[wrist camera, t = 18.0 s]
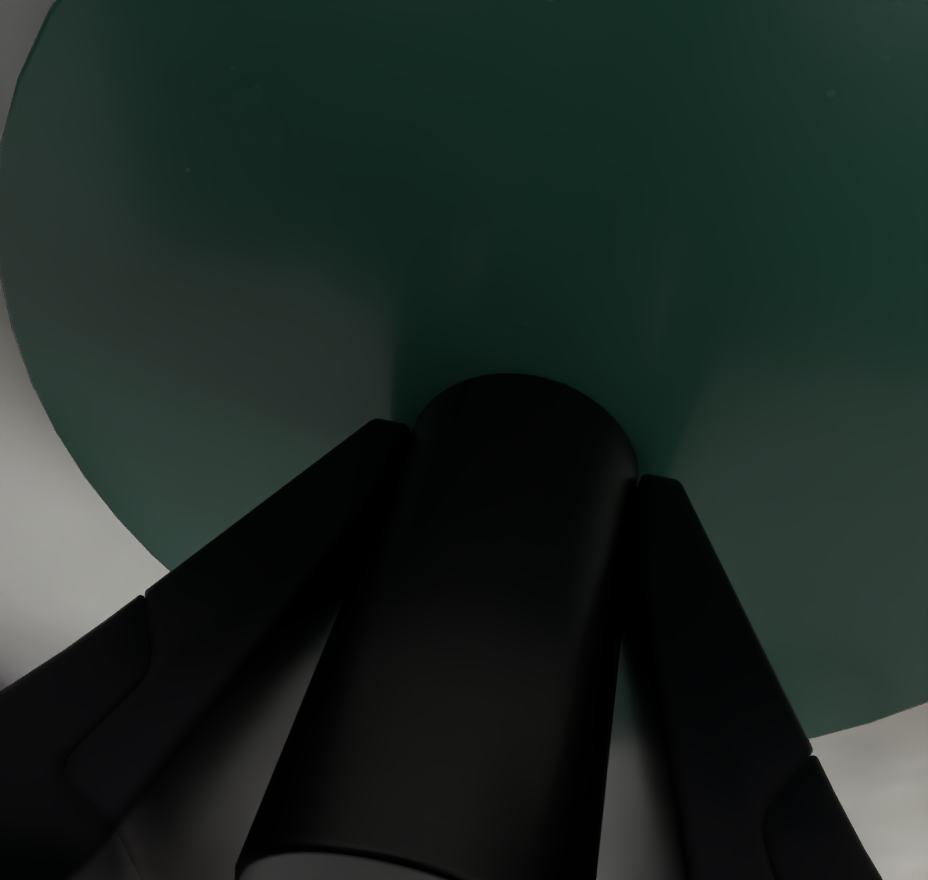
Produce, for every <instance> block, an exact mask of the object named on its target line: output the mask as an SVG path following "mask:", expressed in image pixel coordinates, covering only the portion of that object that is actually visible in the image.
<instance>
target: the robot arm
mask: <svg viewBox="0 0 928 880" xmlns="http://www.w3.org/2000/svg"><path fill="white" fill-rule="evenodd" d="M409 438H410V429H409V427H408V426H407V425H406V424H404V423H400V422H395V421H390V420H385V419H380V418H375V419H373V420H371V421H369V422H368V423H366V424H365V425H364V426H362V427H361V428H360V429H358V430H357V431H356V432H354V433H353V434H352V435H350V436H349V437H348V438H346V439H345V440H344V441H343V442H341V443H340V444H339V445H337V446H336V447H335V448H333V449H332V450H331V451H329V452H328V453H327V454H325V455H324V456H323V457H321V458H320V459H319V460H317V461H316V462H315V463H313V464H312V465H311V466H309V467H308V468H307V469H306V470H304V471H303V472H302V473H300V474H299V475H298V476H296V477H295V478H294V479H292V480H291V481H290V482H288V483H287V484H286V485H284V486H283V487H282V488H280V489H279V490H278V491H276V492H275V493H274V494H272V495H271V496H270V497H269V498H267V499H266V500H265V501H263V502H262V503H261V504H259V505H258V506H257V507H255V508H254V509H253V510H251V511H250V512H249V513H247V514H246V515H245V516H243V517H242V518H241V519H239V520H238V521H237V522H235V523H234V524H233V525H232V526H230V527H229V528H228V529H226V530H225V531H224V532H222V533H221V534H220V535H218V536H217V537H216V538H214V539H213V540H212V541H210V542H209V543H208V544H206V545H205V546H204V547H202V548H201V549H200V550H198V551H197V552H196V553H195V554H193V555H192V556H191V557H189V558H188V559H187V560H185V561H184V562H183V563H181V564H180V565H179V566H177V567H176V568H175V569H173V570H172V571H171V572H169V573H168V574H167V575H165V576H164V577H163V578H161V579H160V580H159V581H158V582H156V583H155V584H154V585H152V586H151V587H150V588H148V589H147V590H146V591H145V597H144V596H142V595H139V596H137V597H136V598H135V599H133V600H132V601H131V602H129V603H128V604H127V605H125V606H124V607H123V608H121V609H120V610H119V611H117V612H116V613H115V614H113V615H112V616H111V617H109V618H108V619H107V620H105V621H104V622H102V623H101V624H100V625H98V626H97V627H95V628H94V629H93V630H91V631H90V632H89V633H87V634H86V635H84V636H83V637H82V638H80V639H79V640H77V641H76V642H75V643H73V644H72V645H70V646H69V647H68V648H66V649H65V650H63V651H62V652H60V653H59V654H57V655H56V656H54V657H52V658H51V659H49V660H48V661H46V662H45V663H43V664H42V665H40V666H39V667H37V668H36V669H34V670H32V671H31V672H29V673H28V674H26V675H25V676H23V677H22V678H20V679H19V680H17V681H16V682H14V683H12V684H11V685H9V686H8V687H6V688H4V689H3V690H1V691H0V880H235V865H236V862H237V860H238V857H239V855H240V852H241V850H242V848H243V845H244V843H245V840H246V838H247V835H248V833H249V830H250V828H251V825H252V823H253V821H254V818H255V816H256V813H257V811H258V808H259V806H260V803H261V801H262V799H263V796H264V794H265V791H266V789H267V786H268V784H269V781H270V779H271V776H272V774H273V772H274V769H275V767H276V764H277V762H278V759H279V757H280V754H281V752H282V749H283V747H284V745H285V742H286V740H287V737H288V735H289V732H290V730H291V727H292V725H293V723H294V720H295V718H296V715H297V713H298V710H299V708H300V705H301V703H302V700H303V698H304V696H305V693H306V691H307V688H308V686H309V683H310V681H311V678H312V676H313V673H314V671H315V669H316V666H317V664H318V661H319V659H320V656H321V654H322V651H323V649H324V646H325V644H326V642H327V639H328V637H329V634H330V632H331V629H332V627H333V624H334V622H335V620H336V617H337V615H338V612H339V610H340V607H341V605H342V602H343V600H344V597H345V595H346V593H347V590H348V588H349V585H350V583H351V580H352V578H353V575H354V573H355V570H356V568H357V566H358V563H359V561H360V558H361V556H362V553H363V551H364V548H365V546H366V544H367V541H368V539H369V536H370V534H371V531H372V529H373V526H374V524H375V522H376V519H377V517H378V514H379V512H380V509H381V507H382V504H383V502H384V500H385V497H386V495H387V492H388V490H389V487H390V485H391V482H392V480H393V477H394V475H395V473H396V470H397V468H398V465H399V463H400V460H401V458H402V455H403V453H404V450H405V448H406V446H407V443H408V441H409ZM812 752H813V748H812V746H811V744H810V742H809V740H808V738H807V736H806V734H805V732H804V730H803V728H802V726H801V724H800V722H799V720H798V718H797V716H796V714H795V711H794V709H793V707H792V705H791V703H790V701H789V699H788V697H787V695H786V693H785V691H784V689H783V687H782V685H781V683H780V681H779V679H778V677H777V675H776V673H775V671H774V669H773V667H772V665H771V663H770V661H769V659H768V657H767V655H766V653H765V651H764V649H763V647H762V645H761V643H760V641H759V639H758V637H757V635H756V633H755V631H754V629H753V627H752V624H751V622H750V620H749V618H748V616H747V614H746V612H745V610H744V608H743V606H742V604H741V602H740V600H739V598H738V596H737V594H736V592H735V590H734V588H733V586H732V584H731V582H730V580H729V578H728V576H727V574H726V572H725V570H724V568H723V566H722V564H721V562H720V560H719V558H718V556H717V554H716V552H715V550H714V548H713V546H712V544H711V542H710V540H709V537H708V535H707V533H706V531H705V529H704V527H703V525H702V523H701V521H700V519H699V517H698V515H697V513H696V511H695V509H694V507H693V505H692V503H691V501H690V499H689V497H688V495H687V493H686V491H685V489H684V487H683V485H682V484H681V482H679V481H678V480H676V479H673V478H668V477H663V476H658V475H653V474H645V475H643V476H642V477H641V478H640V481H639V484H638V487H637V491H636V501H635V510H634V520H633V530H632V539H631V549H630V559H629V568H628V578H627V588H626V598H625V607H624V617H623V627H622V636H621V646H620V656H619V665H618V675H617V685H616V694H615V704H614V714H613V724H612V733H611V743H610V753H609V762H608V772H607V782H606V791H605V801H604V811H603V820H602V830H601V840H600V849H599V859H598V869H597V880H883V879H882V878H881V876H880V874H879V873H878V871H877V869H876V868H875V866H874V864H873V862H872V861H871V859H870V857H869V856H868V854H867V852H866V851H865V849H864V847H863V845H862V843H861V841H860V840H859V838H858V836H857V834H856V832H855V830H854V828H853V826H852V824H851V823H850V821H849V819H848V817H847V815H846V813H845V811H844V809H843V807H842V805H841V804H840V802H839V800H838V798H837V796H836V794H835V792H834V790H833V788H832V786H831V784H830V782H829V780H828V778H827V776H826V774H825V772H824V770H823V768H822V765H821V763H820V761H819V759H818V758H817V757H816V756H814V755H811V753H812ZM810 755H811V756H810Z"/></svg>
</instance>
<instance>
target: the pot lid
mask: <svg viewBox="0 0 928 880" xmlns="http://www.w3.org/2000/svg"><path fill="white" fill-rule="evenodd" d="M0 276H1V281H2V286H3V290H4V295H5V299H6V304H7V309H8V313H9V318H10V322H11V327H12V330H13V333H14V336H15V339H16V342H17V344H18V347H19V350H20V353H21V355H22V358H23V361H24V364H25V367H26V369H27V372H28V375H29V378H30V381H31V383H32V385H33V387H34V389H35V391H36V393H37V395H38V397H39V399H40V401H41V403H42V405H43V407H44V409H45V411H46V413H47V415H48V417H49V419H50V421H51V423H52V425H53V427H54V429H55V431H56V433H57V434H58V436H59V437H60V439H61V441H62V442H63V444H64V445H65V447H66V448H67V450H68V452H69V453H70V455H71V456H72V458H73V459H74V461H75V463H76V464H77V466H78V467H79V469H80V470H81V472H82V473H83V475H84V477H85V478H86V479H87V480H88V482H89V483H90V484H91V485H92V487H93V488H94V489H95V491H96V492H97V493H98V494H99V496H100V497H101V498H102V499H103V501H104V502H105V503H106V505H107V506H108V507H109V508H110V510H111V511H112V512H113V513H114V515H115V516H116V517H117V518H118V519H119V520H120V522H121V523H122V524H123V525H124V526H125V527H126V528H127V529H128V530H129V531H130V532H131V533H132V534H133V535H134V536H135V537H136V538H137V540H138V541H139V542H140V543H141V544H142V545H143V546H144V547H145V548H146V549H147V550H148V551H149V552H150V553H151V554H152V555H153V556H154V557H155V558H156V559H157V560H158V561H159V562H160V563H162V564H163V565H164V566H165V567H166V568H167V569H168V570H169V571H170V572H171V571H172V570H173V569H175V568H176V567H177V566H179V565H180V564H181V563H183V562H184V561H185V560H187V559H188V558H189V557H191V556H192V555H193V554H195V553H196V552H197V551H198V550H200V549H201V548H202V547H204V546H205V545H206V544H208V543H209V542H210V541H212V540H213V539H214V538H216V537H217V536H218V535H220V534H221V533H222V532H224V531H225V530H226V529H228V528H229V527H230V526H232V525H233V524H234V523H235V522H237V521H238V520H239V519H241V518H242V517H243V516H245V515H246V514H247V513H249V512H250V511H251V510H253V509H254V508H255V507H257V506H258V505H259V504H261V503H262V502H263V501H265V500H266V499H267V498H269V497H270V496H271V495H272V494H274V493H275V492H276V491H278V490H279V489H280V488H282V487H283V486H284V485H286V484H287V483H288V482H290V481H291V480H292V479H294V478H295V477H296V476H298V475H299V474H300V473H302V472H303V471H304V470H306V469H307V468H308V467H309V466H311V465H312V464H313V463H315V462H316V461H317V460H319V459H320V458H321V457H323V456H324V455H325V454H327V453H328V452H329V451H331V450H332V449H333V448H335V447H336V446H337V445H339V444H340V443H341V442H343V441H344V440H345V439H346V438H348V437H349V436H350V435H352V434H353V433H354V432H356V431H357V430H358V429H360V428H361V427H362V426H364V425H365V424H366V423H368V422H369V421H371V420H373V419H375V418H380V419H385V420H390V421H395V422H400V423H404V424H406V425H407V426H408V427H409V429H410V438H409V441H408V443H407V446H406V448H405V450H404V453H403V455H402V458H401V460H400V463H399V465H398V468H397V470H396V473H395V475H394V477H393V480H392V482H391V485H390V487H389V490H388V492H387V495H386V497H385V500H384V502H383V504H382V507H381V509H380V512H379V514H378V517H377V519H376V522H375V524H374V526H373V529H372V531H371V534H370V536H369V539H368V541H367V544H366V546H365V548H364V551H363V553H362V556H361V558H360V561H359V563H358V566H357V568H356V570H355V573H354V575H353V578H352V580H351V583H350V585H349V588H348V590H347V593H346V595H345V597H344V600H343V602H342V605H341V607H340V610H339V612H338V615H337V617H336V620H335V622H334V624H333V627H332V629H331V632H330V634H329V637H328V639H327V642H326V644H325V646H324V649H323V651H322V654H321V656H320V659H319V661H318V664H317V666H316V669H315V671H314V673H313V676H312V678H311V681H310V683H309V686H308V688H307V691H306V693H305V696H304V698H303V700H302V703H301V705H300V708H299V710H298V713H297V715H296V718H295V720H294V723H293V725H292V727H291V730H290V732H289V735H288V737H287V740H286V742H285V745H284V747H283V749H282V752H281V754H280V757H279V759H278V762H277V764H276V767H275V769H274V772H273V774H272V776H271V779H270V781H269V784H268V786H267V789H266V791H265V794H264V796H263V799H262V801H261V803H260V806H259V808H258V811H257V813H256V816H255V818H254V821H253V823H252V825H251V828H250V830H249V833H248V835H247V838H246V840H245V843H244V845H243V848H242V850H241V852H240V855H239V857H238V860H237V862H236V865H235V880H596V879H597V869H598V859H599V849H600V840H601V830H602V820H603V811H604V801H605V791H606V782H607V772H608V762H609V753H610V743H611V733H612V724H613V714H614V704H615V694H616V685H617V675H618V665H619V656H620V646H621V636H622V627H623V617H624V607H625V598H626V588H627V578H628V568H629V559H630V549H631V539H632V530H633V520H634V510H635V501H636V491H637V487H638V484H639V481H640V478H641V477H642V476H643V475H645V474H653V475H658V476H663V477H668V478H673V479H676V480H678V481H679V482H681V484H682V485H683V487H684V489H685V491H686V493H687V495H688V497H689V499H690V501H691V503H692V505H693V507H694V509H695V511H696V513H697V515H698V517H699V519H700V521H701V523H702V525H703V527H704V529H705V531H706V533H707V535H708V537H709V540H710V542H711V544H712V546H713V548H714V550H715V552H716V554H717V556H718V558H719V560H720V562H721V564H722V566H723V568H724V570H725V572H726V574H727V576H728V578H729V580H730V582H731V584H732V586H733V588H734V590H735V592H736V594H737V596H738V598H739V600H740V602H741V604H742V606H743V608H744V610H745V612H746V614H747V616H748V618H749V620H750V622H751V624H752V627H753V629H754V631H755V633H756V635H757V637H758V639H759V641H760V643H761V645H762V647H763V649H764V651H765V653H766V655H767V657H768V659H769V661H770V663H771V665H772V667H773V669H774V671H775V673H776V675H777V677H778V679H779V681H780V683H781V685H782V687H783V689H784V691H785V693H786V695H787V697H788V699H789V701H790V703H791V705H792V707H793V709H794V711H795V714H796V716H797V718H798V720H799V722H800V724H801V726H802V728H803V730H804V732H805V734H806V736H807V738H808V739H810V738H815V737H819V736H823V735H827V734H830V733H834V732H838V731H842V730H846V729H849V728H853V727H857V726H861V725H865V724H868V723H871V722H874V721H877V720H880V719H883V718H885V717H888V716H891V715H894V714H896V713H899V712H902V711H905V710H907V709H910V708H913V707H916V706H919V705H921V704H924V703H926V702H928V0H55V1H54V3H53V4H52V6H51V7H50V8H49V11H48V13H47V15H46V17H45V19H44V21H43V24H42V26H41V28H40V30H39V32H38V35H37V37H36V39H35V41H34V43H33V45H32V48H31V50H30V52H29V54H28V56H27V59H26V61H25V63H24V65H23V67H22V70H21V72H20V74H19V76H18V79H17V83H16V87H15V91H14V95H13V98H12V102H11V106H10V110H9V114H8V118H7V122H6V126H5V130H4V133H3V137H2V141H1V145H0Z"/></svg>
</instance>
